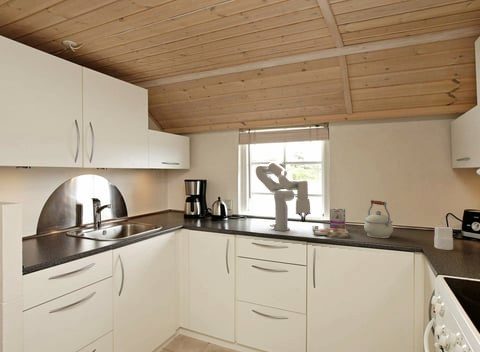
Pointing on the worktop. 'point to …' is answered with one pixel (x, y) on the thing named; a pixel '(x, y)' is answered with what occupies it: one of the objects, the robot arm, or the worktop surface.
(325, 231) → the pink dome
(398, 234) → the worktop surface
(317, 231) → the tray
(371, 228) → the kettle
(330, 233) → the caddy
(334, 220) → the candy bar box
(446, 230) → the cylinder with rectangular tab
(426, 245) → the worktop surface
